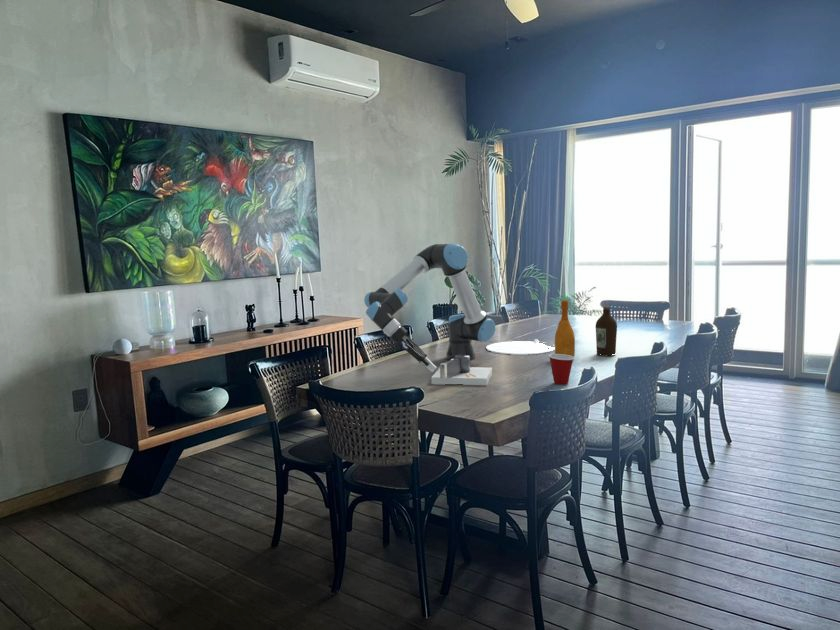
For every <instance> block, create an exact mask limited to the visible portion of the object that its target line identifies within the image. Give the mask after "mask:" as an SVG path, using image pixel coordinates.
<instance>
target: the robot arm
mask: <svg viewBox="0 0 840 630" xmlns="http://www.w3.org/2000/svg"><path fill="white" fill-rule="evenodd" d="M468 258H469V255H468V252H467V250H466V249H465V248H464V246H462V245H461V244H458V243H443V244H442V243H440V244H439V243H435V244H432V245H429V246H427V247H425V249H422V250H421V251H420V252H419V253H417V254H416V255H415V256H413V258H412V261H411V262H409V263H408V264H407V265H406V266H404V267H403V268H402V269H401V270H400V271H398V273H396V274H395V275H394V276H393V277H391V278H390V279H389V280H388V281H386V282H385V283H384V284H382V286H380V287H379V288H377V290H376V291H371V292H367V293H366V294H365V296H364V305H365V306H366V307H367V309H366V311H365V315H367V317H368V318H369V319H370V320H371V321H372V322H373V323H374V324H375V325H376V326H377V327H378V328H379V329H380V330H381V331H382V332H383V334H384V335H386V336H387V337H390V340H391V341H392V342H393V343H395V344H398V343H400V345H401V348H402V349H403V350H404V351H406V352H407V353H408V354H409V355H410V356H411V357H412V358H414V359H415V360H416V361H418V363H419V364H420V363H421V364H423V365H424V366H425V367H426V368H427V369H428V370H429V371H430V373H433V372H434V371H435V370H436V369H437V366H436V364H434V363H433V362H432V361H431V360H430V359H429V358H428V357H427V356H428V354H427V353H425V352H424V350H422V348H421V347H420V346H419V345H418V344H417V343H416V341H415V340H414V338H411V337H409V336H407V334H408V329H406V328H405V327H404V326H402V324H401V323H400V322H399V321H398V320H397V319H396V318H395V317H394V315H396V313H398V311H399V310H401V309H402V308H403V307H404V306H405V305H406V304H407V303H408V300H409V299H408V296H407V294H406V292H404V290H405V288H407V287H408V286H409V285H410V284H412V282H414V281H415V280H416V279H418V278H419V277H420V276H421V275H422V274H427V273H428V272H429V271H431V270H434V269H441V270H442V272H443V273H442V274H443V275H444V276H445V277H447V278H448V279H449V281H450V285H451V287H452V288H453V291H454V294H455V296H456V299H457V300H458V303H459V305H460V308H461V310H462V313H460V314H454V315H450V316H449V317H448V323H447V324H448V347H447V350H446V353H445V359H447V360H448V361H450V360H451V359H455V356H456V355H461V354H465V355H470V361H471V360H474V359H476V353H475V350H474V347H473V344H472V341H476V342H480V343H481V342H489V341H490V340H492V338H493V337H494V335H495V332H496V323H495V321H494V319H491V318H488V316H487V313H486V311H485V310H482V308H481V306H480V303H479V302H478V299H477V297H476V294H475V291H474V290H473V287H472V284H471V282H470V279H469V276H468V274H467V271H466V269H467V264H468Z"/></svg>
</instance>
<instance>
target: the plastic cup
mask: <svg viewBox="0 0 840 630" xmlns="http://www.w3.org/2000/svg"><path fill="white" fill-rule="evenodd" d="M548 357H549V361H550V362H549V363H550V367H551V374H552V379H553V382H554V384H556V385H558V386H559V385H563V386H564V385H568V383H569V382H570V376H571V371H572V365H573V362H574V360H575V358H576V357H575V356H570V355H565V354H555V353H549V354H548Z"/></svg>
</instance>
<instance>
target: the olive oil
mask: <svg viewBox="0 0 840 630" xmlns="http://www.w3.org/2000/svg"><path fill="white" fill-rule="evenodd" d="M602 308H603V309H602V314H601V316H600V317H599V318H598V319H597V320H596V322H595V341H596V343H595V344H596V355H597V354H601V355H612V354H615V353H616V352H617V349H616V348H617V334H618V333H617V332H618V323H617V321H616V320H615V318H614V317H613V316H612V315H611V313H610V312H611V309H610V308H611V307H610V306H603V307H602Z"/></svg>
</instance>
